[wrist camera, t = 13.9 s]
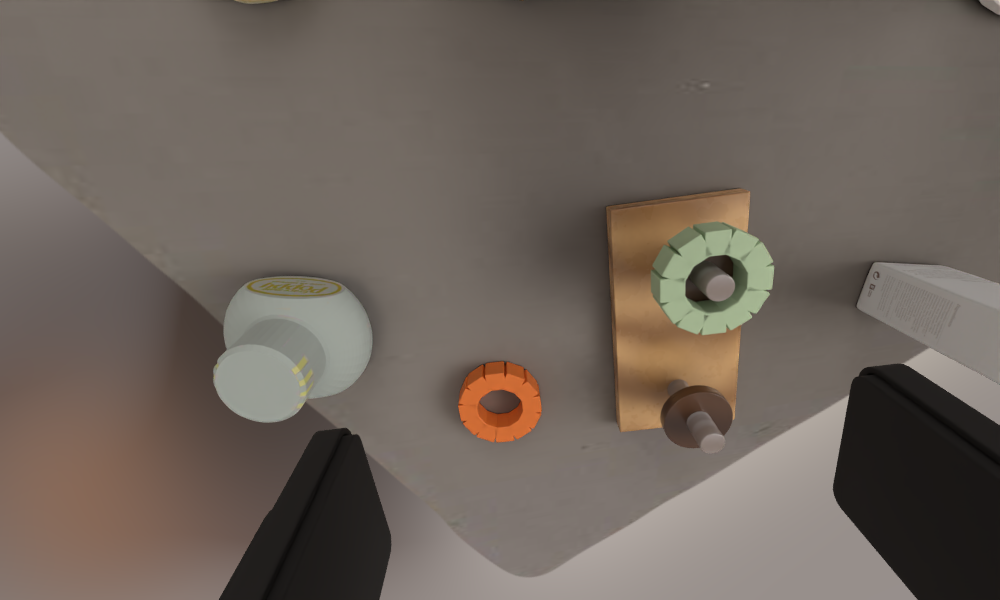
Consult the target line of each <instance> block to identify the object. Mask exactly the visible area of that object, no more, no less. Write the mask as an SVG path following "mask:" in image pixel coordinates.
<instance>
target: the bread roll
mask: <svg viewBox="0 0 1000 600" xmlns="http://www.w3.org/2000/svg"><path fill="white" fill-rule="evenodd" d="M235 1H238V2H241V3H248V4H256V3H269V2H273V1H277V0H235Z"/></svg>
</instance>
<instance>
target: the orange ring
mask: <svg viewBox="0 0 1000 600" xmlns="http://www.w3.org/2000/svg"><path fill="white" fill-rule="evenodd" d="M502 389H503V390H506V391H509V392H512V393H515V394H516V396H517V397H518V398H519V399H520V400H521V401H520V403H519V405H518V407H517V408H515V409H514V410H512V411H511V412H509V413H502V414H496V413H493V412H490V411H487V410H486V409H485V408H484V407H483V406H482V405H481V404H480V402H479V401H480V399H481V397H483V396H484V395H486V394H487V393H489V392H490V391H494V390H502ZM458 408H459V413H460V418H461V421H463V424H464V425H465V426H466V427H467V428H468V429H469V430H470V431H471V432H472V433H473V434H474V435H475V434H477V437H479V438H482V439H485V440H488V441H491V442H494V440H495V438H496V442H506V441H514V436H515V438H516V439H519V438H520V437H522V436H524V435H525V434H527V433H528V432H530V431H531V428H534V427H535V425H536V423H537V421H538V420H539V418H540V416H541V411H542V409H541V401H540V393H539V386H538V384H537V381H536V380H535V379H534V378H533V376H532V375H531V374H530V373H529V372H528V371H527V370H524V368H523V367H521V366H518V365H515V364H513V363H510V362H506V364H505V366H504V362H503V361H501V362H493V363H486V364H485V366H484V365H483V364H482V365H481V366H479V367H478V368H476V369H475V370H473V371H472V372H471V373H469V374H468V377H466V378H465V381H464V383H463V385H462V387H461V390H460V396H459V404H458Z"/></svg>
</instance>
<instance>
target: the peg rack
mask: <svg viewBox="0 0 1000 600" xmlns="http://www.w3.org/2000/svg"><path fill="white" fill-rule="evenodd" d="M749 203H750V192H749V191H747V190H744V189H741V188H738V189H731V190H724V191H716V192H709V193H702V194H694V195H687V196H679V197H672V198H665V199H657V200H650V201H642V202H635V203H628V204H620V205H613V206H607V207H606V211H607V232H608V253H609V273H610V294H611V315H612V335H613V356H614V377H615V398H616V418H617V424H618V427H619V429H620V432H626V431H635V430H644V429H653V428H662V427H663V429H664V431H665V433H666V435H667V436H668V438H669V439H670V440H671V441H672V442H674V443H675V444H677V445H679V446H682V447H686V448H701V450H702V451H703V452H705V453H709V454H713V453H716V452H719V451H720V450H721V449H722V448H723V447H724V445H725V438H724V437H723V436H724V435H725V434H726V432H727V431H728V430H729V428H730V426H731V424H732V420H733V419H734V417H735V402H736V388H737V374H738V360H739V345H740V331H741V325H739V326H738V327H736V328H734V329H733V330H729V329H728V328H727V327H726V332H725V333H718V334H709V335H701V334H700V332H699V333H698V334H694V333H691V332H689V331H686V330H684V329H681V328H678V327H677V326H676V325H675V324H673V323H672V322H671V321H670V320H669V318H668V317H667V316H666V314H665V313H664V312H663V311H662V309H661V308H660V306H659V305H658V303H657V302H656V301H655V299H654V298H653V294H652V292H651V270H654V269H655V268H654V267H653V266H652V265H653V263H654V261H655V260H656V258H657V256H658V254H659V252H660V251H661V249H662V247H663V245H667V246H669V247H670V245H669V244H668V242H667V241H668V240H669V239H671V238H672V237H674V236H675V235H677V234H678V233H680V232H681V231H682V230H684V229H685V228H687V227H690V228H692V229H693V225H694V224H701V223H709V222H716V221H718V222H720V223H722V222H724V223H727V224H729V225H731V226H734V227H736V228H738V229H741V230H743V231H745V232H747V231H748V217H749ZM734 289H735V282H734V280H733V262H732V260H731V259H730V257H729V256H728V255H719V256H711V257H708V258H707V259H705V260H703V261H702V262H700V263H699V264H697V265H696V266H694V267H693V269H692V271H691V272H690V274H689V276H688V277H687V279H686V281H685V296H686V298H688V299H690V300H693V301H695V302H697V301H705V300H712V301H723V300H726V299H727V298H729V297H730V296H731V295H732V293H733V292H734Z"/></svg>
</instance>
